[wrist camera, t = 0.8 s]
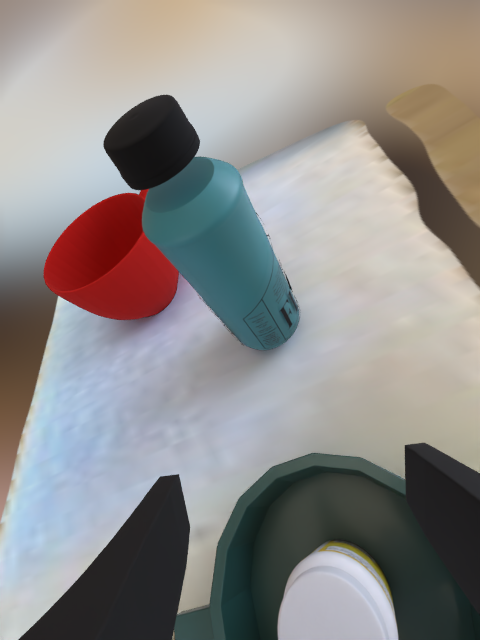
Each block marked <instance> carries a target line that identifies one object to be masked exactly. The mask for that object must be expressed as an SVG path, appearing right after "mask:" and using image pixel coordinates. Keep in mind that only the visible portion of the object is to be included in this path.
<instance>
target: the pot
mask: <svg viewBox="0 0 480 640" xmlns="http://www.w3.org/2000/svg"><path fill="white" fill-rule="evenodd" d="M335 539H343V540H348V541H351V542H354V543H356V544H358V545H359V546H361V547H362V548H364V549H365V550H366V551H368V552H369V553H370V554H371V555H372V556H373V557H374V559H375V560H376V561H377V562H378V564H379V565H380V567H381V568H382V570H383V572H384V574H385V576H386V578H387V581H388V583H389V586H390V590H391V594H392V599H393V605H394V611H395V618H396V623H397V630H398V639H399V640H480V616H479V614H478V613H477V611H476V610H475V608H474V607H473V605H472V604H471V602H470V601H469V599H468V598H467V597H466V595H465V594H464V592H463V591H462V589H461V588H460V586H459V585H458V583H457V582H456V581H455V579H454V578H453V576H452V575H451V573H450V572H449V570H448V569H447V567H446V566H445V564H444V563H443V561H442V560H441V559H440V557H439V556H438V554H437V553H436V551H435V550H434V548H433V547H432V545H431V544H430V542H429V541H428V539H427V538H426V536H425V534H424V533H423V531H422V529H421V527H420V525H419V524H418V522H417V520H416V518H415V516H414V514H413V512H412V511H411V509H410V507H409V505H408V503H407V501H406V480H405V479H403V478H401V477H399V476H397V475H395V474H393V473H391V472H389V471H387V470H385V469H383V468H381V467H379V466H377V465H375V464H373V463H371V462H369V461H367V460H365V459H363V458H360V457H351V456H340V455H330V454H320V453H311V454H308V455H305V456H302V457H299V458H296V459H294V460H291V461H288V462H285V463H282V464H279V465H276V466H273V467H272V468H270V469H269V470H268V471H267V472H266V473H265V474H264V475H263V476H262V477H261V478H260V479H259V480H258V481H256V482H255V483H254V484H253V485H252V486H251V487H250V488H249V489H248V490H247V491H246V492H245V493H244V494H243V495H242V496H241V497H240V498H239V499H238V501H237V504H236V506H235V508H234V510H233V512H232V514H231V516H230V518H229V521H228V523H227V525H226V527H225V529H224V531H223V533H222V536H221V538H220V540H219V542H218V546H217V552H216V559H215V567H214V574H213V582H212V589H211V597H210V604H209V605H205V606H201V607H197V608H194V609H190V610H186V611H182V612H181V613H179V614H177V616H176V621H175V626H174V632H175V640H278V616H279V610H280V606H281V603H282V600H283V597H284V592H285V588H286V584H287V581H288V578H289V576H290V574H291V573H292V571H293V570H294V568H295V567H296V566H297V565H298V564H299V563H300V562H301V561H302V560H303V559H304V558H306V557H307V556H308V555H310V554H311V553H312V552H313V551H314V550H315V549H317V548H318V547H319V546H320V545H322V544H323V543H325V542H327V541H330V540H335Z"/></svg>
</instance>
